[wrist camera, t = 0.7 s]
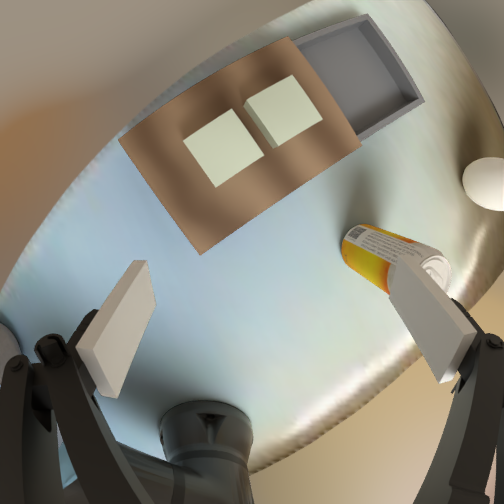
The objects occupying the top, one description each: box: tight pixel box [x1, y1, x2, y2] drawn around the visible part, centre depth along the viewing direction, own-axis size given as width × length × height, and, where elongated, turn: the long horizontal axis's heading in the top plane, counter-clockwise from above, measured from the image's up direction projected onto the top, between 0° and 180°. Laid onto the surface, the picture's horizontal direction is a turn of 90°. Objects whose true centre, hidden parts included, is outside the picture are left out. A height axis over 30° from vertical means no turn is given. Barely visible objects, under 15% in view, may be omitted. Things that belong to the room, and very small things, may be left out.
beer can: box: [341, 224, 452, 295], centre depth 30 cm, size 6×6×15 cm
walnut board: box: [118, 36, 362, 255], centre depth 29 cm, size 20×14×6 cm
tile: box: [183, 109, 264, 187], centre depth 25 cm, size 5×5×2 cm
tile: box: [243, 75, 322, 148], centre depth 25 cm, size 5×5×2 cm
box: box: [292, 14, 425, 142], centre depth 30 cm, size 14×14×4 cm
